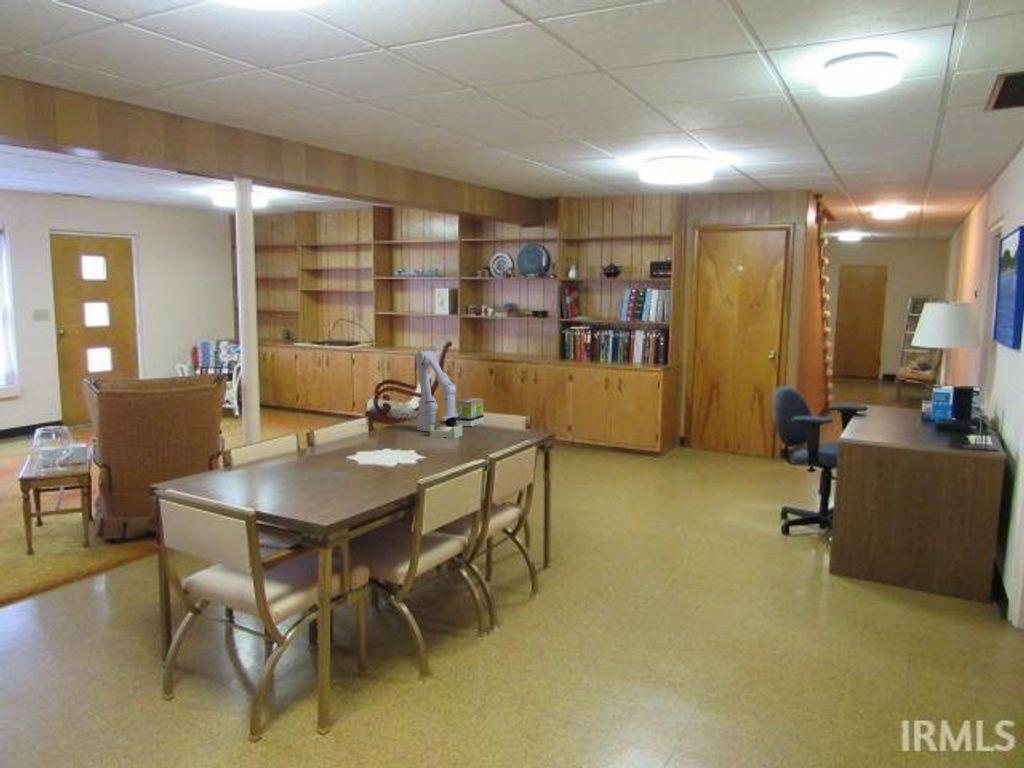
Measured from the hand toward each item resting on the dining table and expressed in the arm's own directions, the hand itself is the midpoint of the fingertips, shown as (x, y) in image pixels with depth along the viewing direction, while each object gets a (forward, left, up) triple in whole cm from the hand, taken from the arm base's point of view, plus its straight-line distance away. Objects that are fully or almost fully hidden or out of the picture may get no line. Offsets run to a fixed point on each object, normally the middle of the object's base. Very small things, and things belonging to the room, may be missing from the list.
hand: (450, 431), depth 389 cm
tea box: (-3, +29, -2) cm, 29 cm away
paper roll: (0, -4, +1) cm, 4 cm away
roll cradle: (0, -5, -1) cm, 5 cm away
